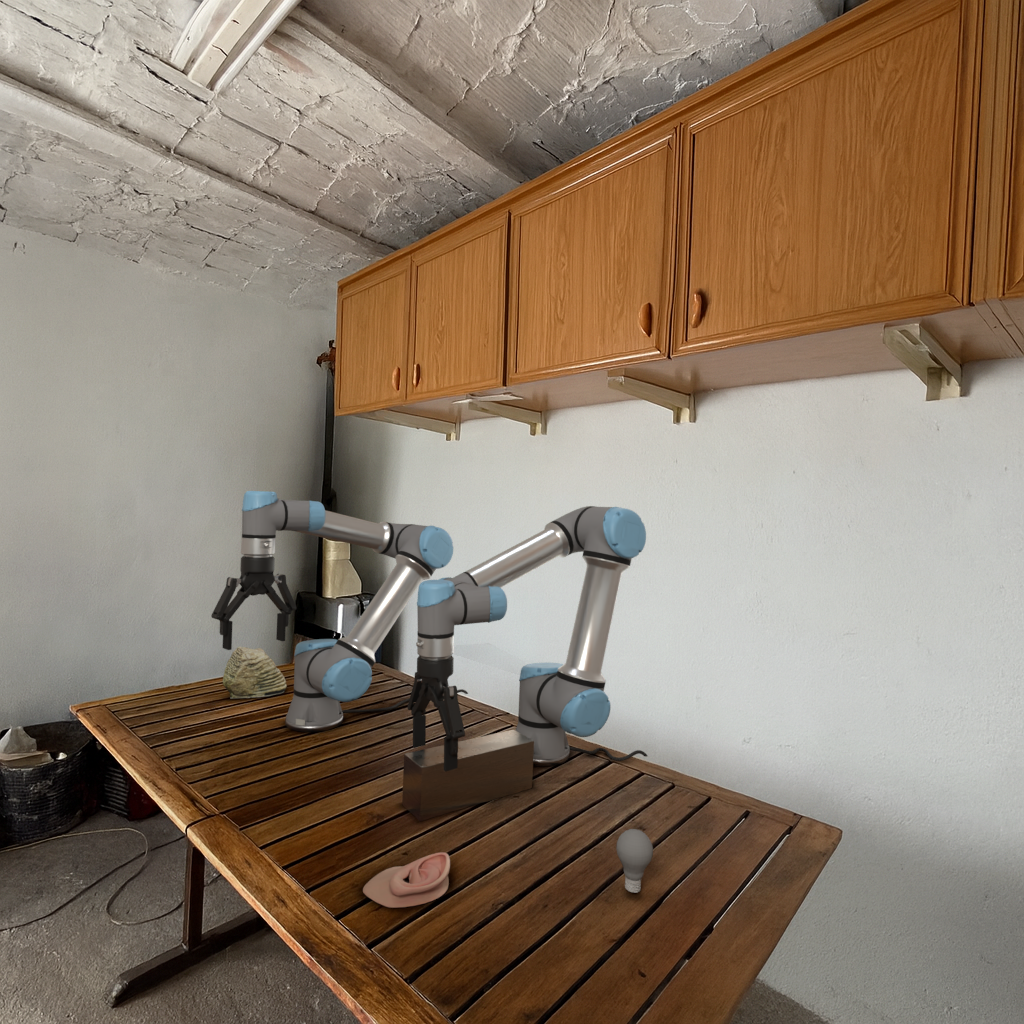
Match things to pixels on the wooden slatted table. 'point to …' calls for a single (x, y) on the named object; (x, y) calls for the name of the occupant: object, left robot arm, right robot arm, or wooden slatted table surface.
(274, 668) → the fossil
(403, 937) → the wooden slatted table surface
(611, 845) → the wooden slatted table surface
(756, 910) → the wooden slatted table surface
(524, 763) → the box
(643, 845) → the light bulb
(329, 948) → the wooden slatted table surface
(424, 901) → the anatomical model
